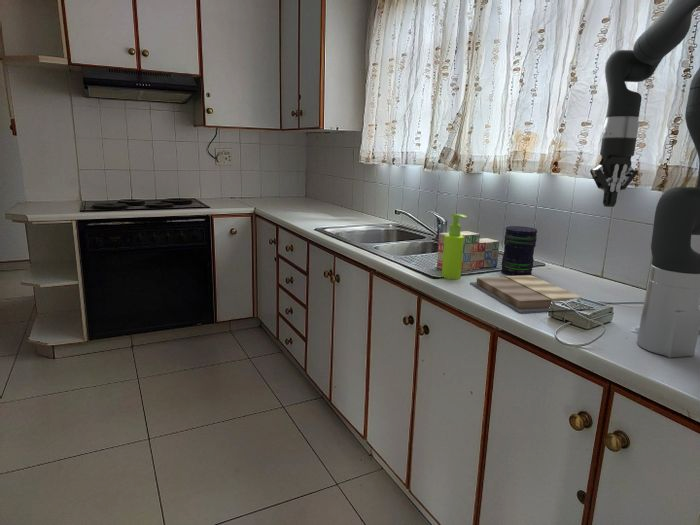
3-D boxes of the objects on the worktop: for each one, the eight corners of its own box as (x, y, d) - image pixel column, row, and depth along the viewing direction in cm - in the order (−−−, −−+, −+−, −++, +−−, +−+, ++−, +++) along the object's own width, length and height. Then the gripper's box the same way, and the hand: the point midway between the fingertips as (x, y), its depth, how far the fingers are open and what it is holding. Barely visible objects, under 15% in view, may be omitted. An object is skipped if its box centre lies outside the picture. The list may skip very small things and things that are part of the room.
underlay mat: (594, 309, 122) (595, 307, 121) (519, 313, 116) (519, 311, 116) (534, 281, 146) (534, 279, 146) (469, 284, 141) (470, 282, 141)
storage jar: (517, 268, 162) (522, 225, 158) (538, 275, 153) (544, 230, 150) (494, 270, 158) (498, 226, 155) (514, 278, 149) (520, 231, 146)
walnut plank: (549, 306, 121) (550, 299, 120) (518, 308, 118) (519, 301, 118) (503, 283, 141) (504, 276, 141) (476, 284, 139) (477, 277, 139)
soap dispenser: (453, 281, 144) (459, 216, 139) (437, 275, 149) (442, 213, 144) (466, 278, 147) (472, 215, 142) (450, 273, 152) (456, 212, 148)
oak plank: (580, 304, 123) (582, 297, 122) (551, 306, 121) (552, 298, 120) (530, 281, 143) (531, 275, 143) (504, 282, 141) (505, 276, 141)
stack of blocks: (484, 263, 169) (488, 229, 166) (497, 267, 163) (501, 232, 160) (436, 268, 159) (438, 232, 157) (447, 272, 154) (450, 235, 151)
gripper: (608, 135, 111) (598, 208, 115) (653, 137, 115) (642, 208, 119) (586, 136, 119) (576, 204, 122) (629, 138, 122) (618, 205, 126)
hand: (608, 206), depth 120 cm, fingers closed
